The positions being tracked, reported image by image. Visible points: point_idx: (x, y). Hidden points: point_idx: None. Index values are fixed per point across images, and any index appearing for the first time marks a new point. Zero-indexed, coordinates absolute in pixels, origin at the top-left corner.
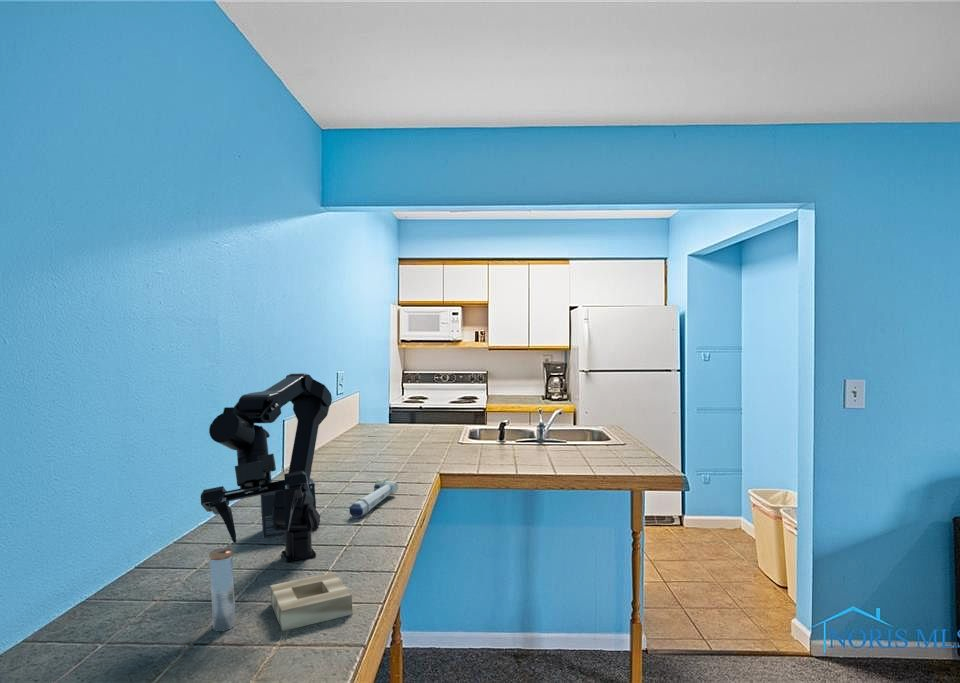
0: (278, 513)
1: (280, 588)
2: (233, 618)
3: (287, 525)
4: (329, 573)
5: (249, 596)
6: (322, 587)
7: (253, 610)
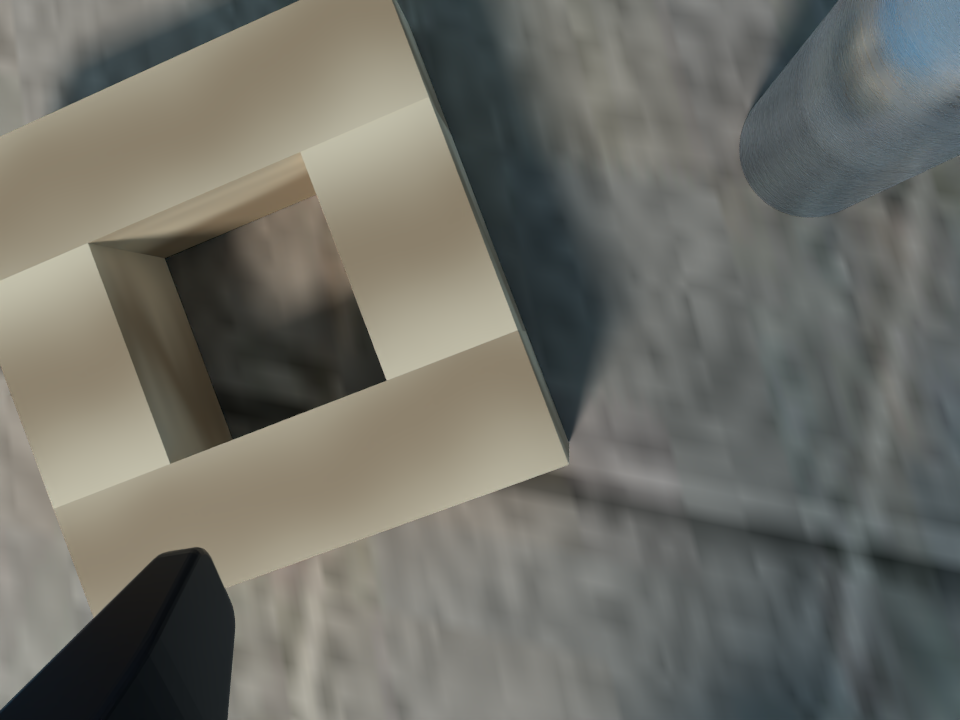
0: None
1: (470, 381)
2: (756, 111)
3: (128, 591)
4: None
5: (759, 611)
6: (190, 450)
7: (670, 366)
